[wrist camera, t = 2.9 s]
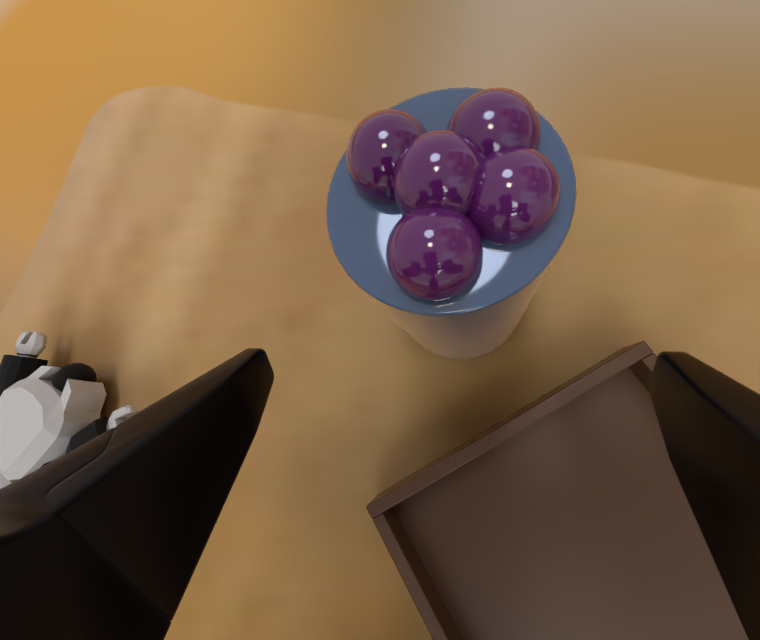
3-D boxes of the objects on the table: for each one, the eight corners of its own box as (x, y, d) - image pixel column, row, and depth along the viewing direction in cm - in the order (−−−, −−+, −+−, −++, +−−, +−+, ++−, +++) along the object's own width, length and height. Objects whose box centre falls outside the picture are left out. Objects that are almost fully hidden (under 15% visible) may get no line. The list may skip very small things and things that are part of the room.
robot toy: (70, 329, 28) (-66, 519, 26) (-1, 312, 24) (-170, 537, 22) (185, 419, 24) (37, 649, 22) (126, 417, 20) (-65, 702, 18)
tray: (939, 731, 14) (1025, 792, 11) (583, 892, 15) (601, 973, 13) (624, 347, 18) (644, 340, 16) (377, 495, 20) (365, 506, 18)
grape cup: (551, 314, 19) (677, 171, 7) (440, 383, 20) (384, 358, 8) (476, 218, 21) (477, -23, 9) (377, 284, 22) (255, 139, 10)
